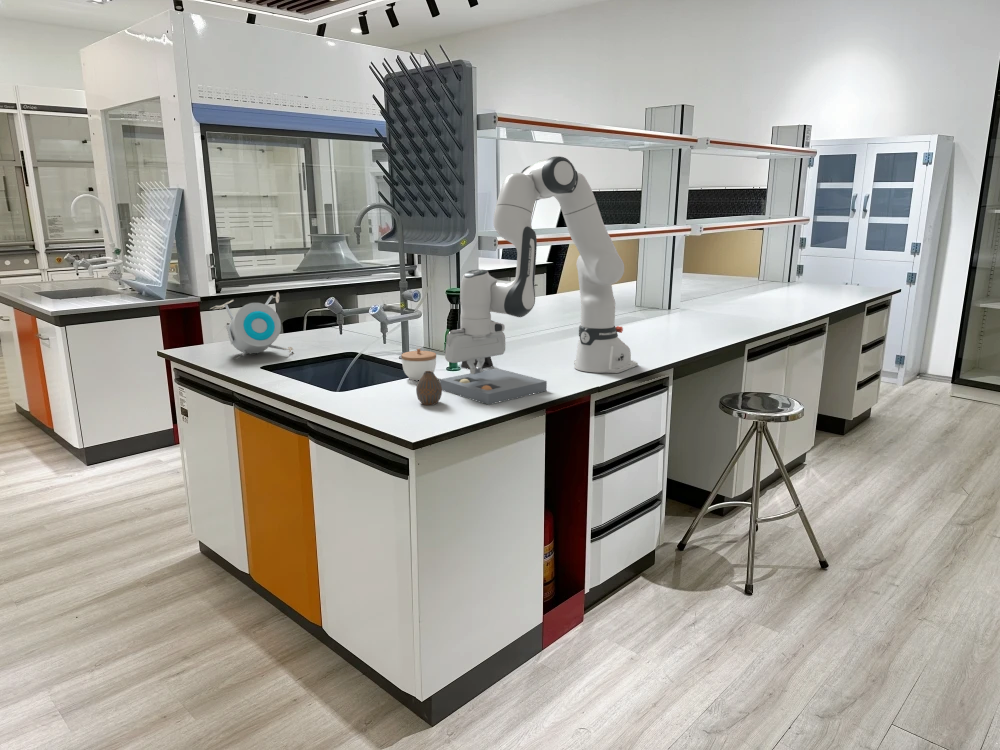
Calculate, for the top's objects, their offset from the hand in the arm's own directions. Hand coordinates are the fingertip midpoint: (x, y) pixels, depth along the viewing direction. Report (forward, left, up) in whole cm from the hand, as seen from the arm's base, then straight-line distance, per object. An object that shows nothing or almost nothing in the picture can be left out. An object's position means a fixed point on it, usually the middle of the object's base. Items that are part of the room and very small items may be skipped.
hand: (475, 373), depth 204 cm
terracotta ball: (+4, +10, -3) cm, 11 cm away
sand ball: (+4, 0, -3) cm, 5 cm away
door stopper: (-18, -22, -5) cm, 29 cm away
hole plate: (-2, +5, -5) cm, 7 cm away
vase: (+20, +4, -5) cm, 21 cm away
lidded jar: (+6, -21, -5) cm, 22 cm away
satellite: (+31, -89, -5) cm, 94 cm away
